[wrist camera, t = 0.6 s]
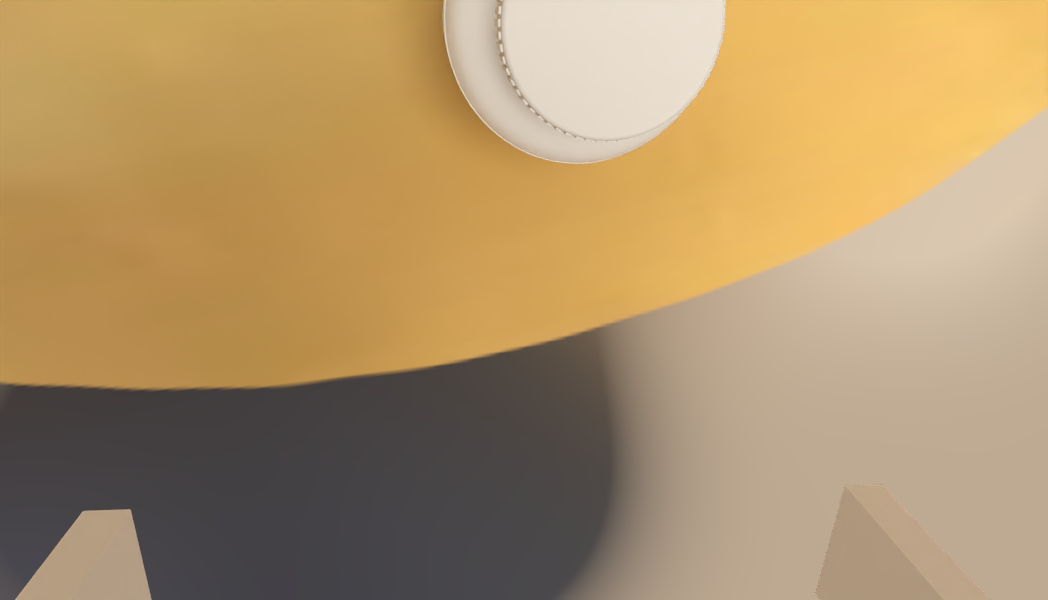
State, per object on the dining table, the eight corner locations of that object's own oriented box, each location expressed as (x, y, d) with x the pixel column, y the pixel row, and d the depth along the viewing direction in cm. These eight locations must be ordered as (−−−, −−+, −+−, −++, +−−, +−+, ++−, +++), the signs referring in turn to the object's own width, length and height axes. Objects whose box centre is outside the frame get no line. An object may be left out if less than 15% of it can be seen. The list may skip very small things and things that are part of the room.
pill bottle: (431, 102, 29) (423, 171, 16) (454, -102, 26) (468, -241, 13) (602, 130, 31) (732, 216, 17) (642, -62, 28) (839, -147, 14)
